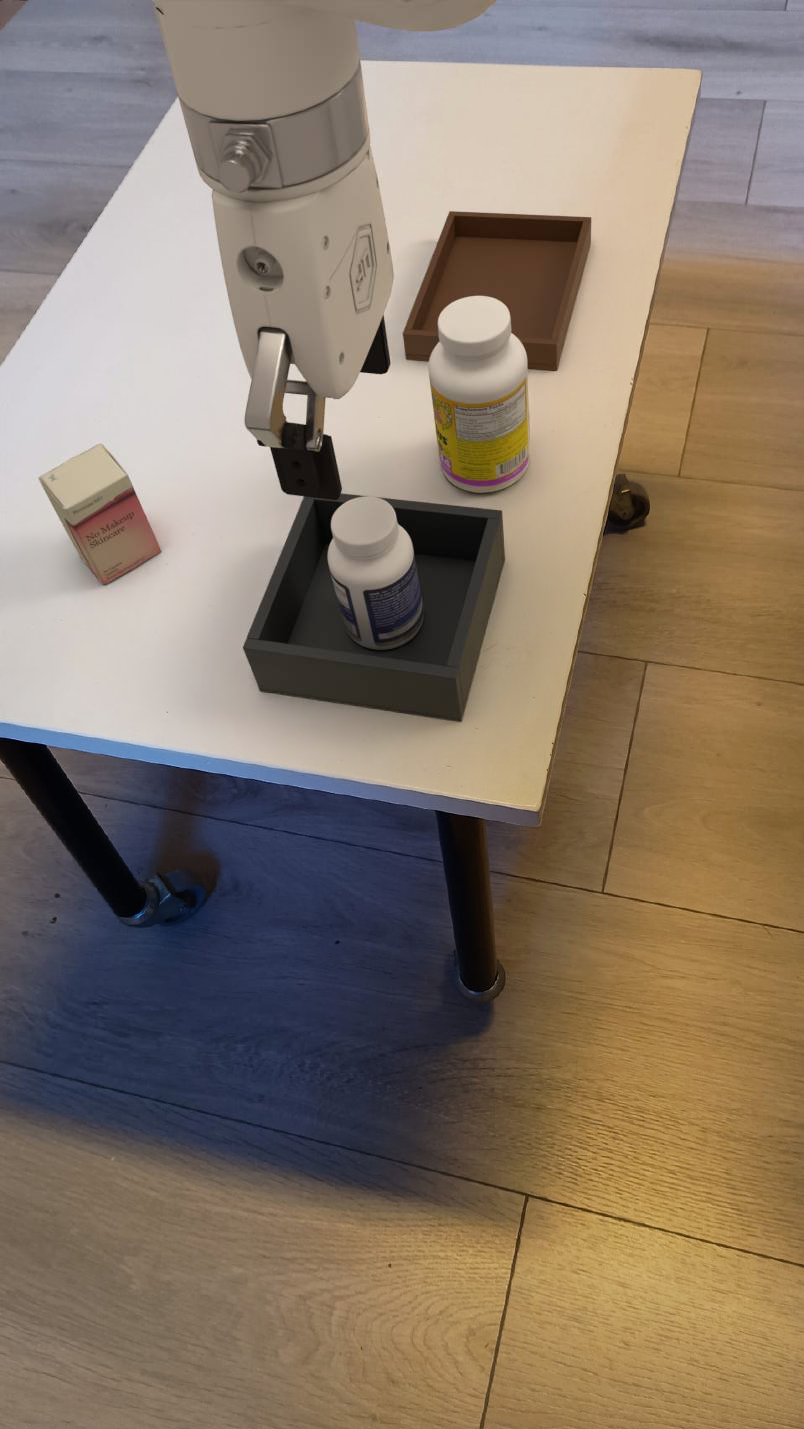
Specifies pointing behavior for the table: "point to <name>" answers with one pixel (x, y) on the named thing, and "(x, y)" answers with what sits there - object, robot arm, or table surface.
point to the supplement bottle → (480, 396)
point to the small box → (101, 513)
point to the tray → (505, 278)
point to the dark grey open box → (408, 679)
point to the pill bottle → (374, 574)
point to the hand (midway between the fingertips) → (338, 428)
